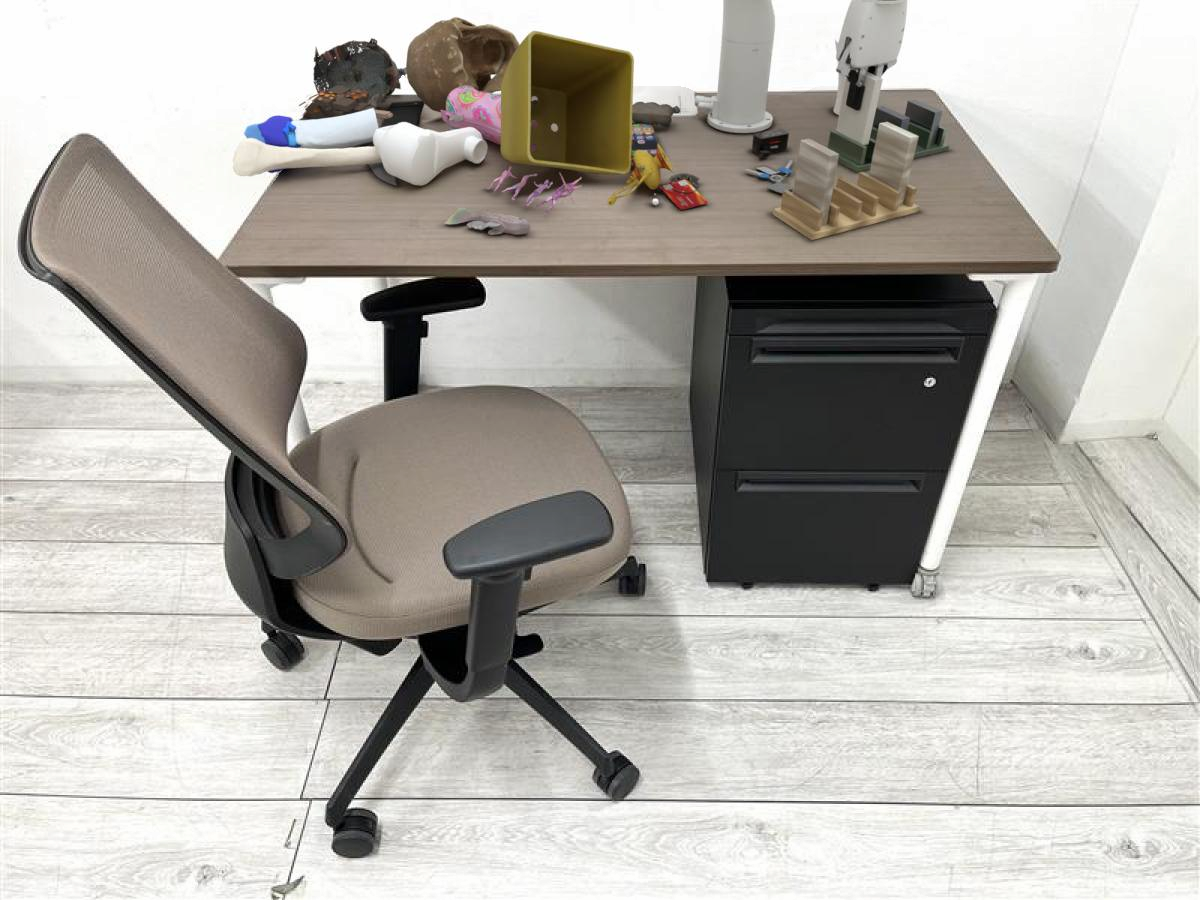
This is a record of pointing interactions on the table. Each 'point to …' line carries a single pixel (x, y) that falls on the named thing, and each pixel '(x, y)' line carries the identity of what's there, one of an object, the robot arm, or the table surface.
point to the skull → (458, 59)
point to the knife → (380, 169)
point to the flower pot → (568, 105)
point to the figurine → (358, 70)
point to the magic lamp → (644, 171)
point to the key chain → (778, 182)
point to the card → (683, 194)
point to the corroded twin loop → (689, 177)
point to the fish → (490, 221)
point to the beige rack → (850, 187)
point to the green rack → (915, 120)
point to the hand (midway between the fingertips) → (858, 106)
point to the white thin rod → (656, 201)
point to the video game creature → (340, 104)
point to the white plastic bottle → (426, 150)
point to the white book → (860, 111)
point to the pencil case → (477, 113)
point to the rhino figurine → (653, 113)
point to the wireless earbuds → (770, 142)
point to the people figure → (537, 191)
